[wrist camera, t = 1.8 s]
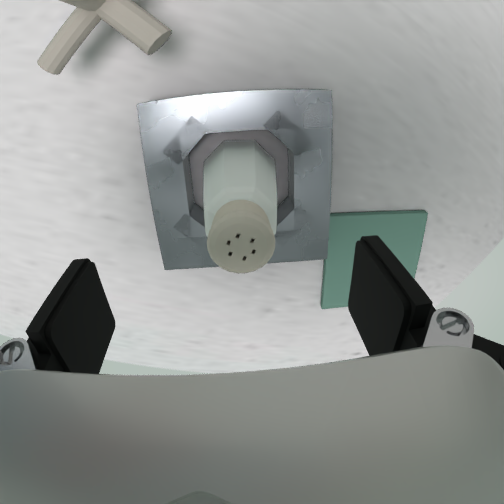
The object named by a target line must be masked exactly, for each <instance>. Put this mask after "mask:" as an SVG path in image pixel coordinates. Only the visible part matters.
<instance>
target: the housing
mask: <svg viewBox="0 0 504 504" xmlns="http://www.w3.org/2000/svg"><path fill="white" fill-rule="evenodd" d="M137 110H138V118H139V127H140V134H141V142H142V149H143V156H144V162H145V169H146V175H147V181H148V187H149V193H150V199H151V204H152V210H153V215H154V220H155V225H156V231H157V236H158V240H159V245H160V250H161V255H162V259H163V264H164V268H165V270H173V269H189V268H205V267H220V266H218V265H217V264H216V263H215V262H214V261H213V259H212V258H211V257H210V254H209V252H208V249H207V239H208V236H206V232H205V220H204V209H202V208H201V207H200V206H198V205H197V204H196V203H194V195H193V187H192V179H191V171H190V163H189V154H188V153H189V152H190V151H191V150H192V149H193V147H194V146H195V145H196V144H197V143H198V141H199V140H200V139H201V138H202V137H203V136H204V134H208V133H219V132H232V131H247V130H265V129H268V130H269V131H270V132H271V133H272V134H273V135H274V136H276V137H277V138H278V139H279V140H280V141H281V142H282V143H283V144H284V145H286V146H287V147H288V182H289V196H288V197H287V198H286V199H285V200H284V201H283V202H282V203H281V204H280V205H279V206H278V207H277V228H276V234H275V235H274V236H275V250H274V253H273V255H272V257H271V258H270V260H269V261H268V262H267V263H279V262H293V261H307V260H321V259H327V256H328V241H329V224H330V205H331V178H332V90H323V89H271V90H248V91H232V92H220V93H209V94H199V95H191V96H183V97H175V98H168V99H162V100H155V101H149V102H144V103H139V104H137Z"/></svg>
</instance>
